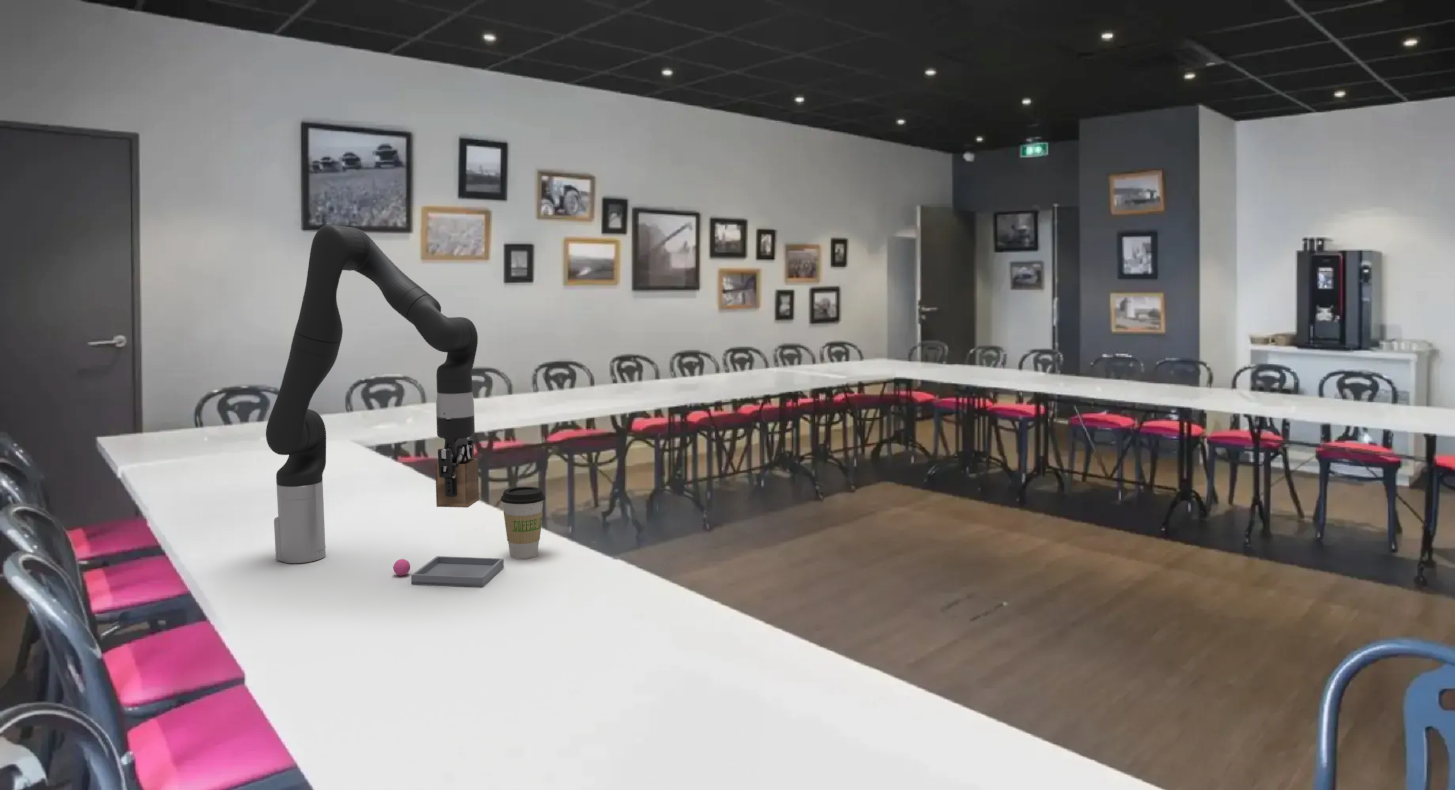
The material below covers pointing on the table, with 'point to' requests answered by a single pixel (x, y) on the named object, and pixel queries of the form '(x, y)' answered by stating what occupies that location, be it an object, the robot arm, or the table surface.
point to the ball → (401, 567)
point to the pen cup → (459, 486)
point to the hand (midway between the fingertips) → (457, 492)
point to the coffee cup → (523, 520)
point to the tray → (458, 571)
